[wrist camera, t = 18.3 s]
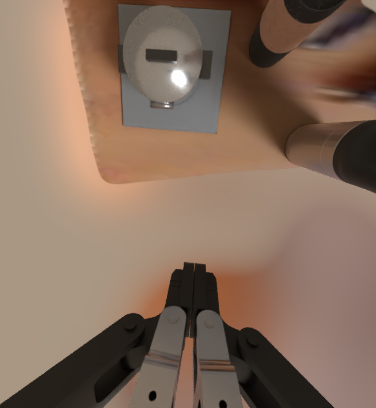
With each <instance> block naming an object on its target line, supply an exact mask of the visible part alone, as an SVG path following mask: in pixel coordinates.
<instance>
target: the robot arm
mask: <svg viewBox="0 0 376 408" xmlns="http://www.w3.org/2000/svg"><path fill="white" fill-rule="evenodd" d="M285 153H286V156H287V158H288V160H289V161H290V162H292V163H293V164H295V165H298V166H301V167H303V168H306V169H309V170H312V171H315V172H318V173H321V174H323V175H326V176H329V177H332V178H334V179H337V180H340V181H343V182H346V183H349V184H352V185H355V186H358V187H361V188H364V189H366V190H369V191H371V192H374V193H376V120H368V121H354V122H339V123H323V124H308V125H304V126H301V127H299V128H297V129H296V130H295V131H294V132H292V134H291V135H290V136H289V138H288V140H287V142H286V146H285ZM190 320H191V323H190ZM190 325H191V326H190ZM189 327H190V328H189ZM189 329H190V338H193V351H192V368H193V408H243V404H242V399H241V395H242V397H243V398H244V400H245V401H246V403H247V404H248V405H249V407H250V408H334V407H333V406H332V405H331V404H330V403H329V402H328V401H327V400H326V399H325V398H324V397H323V396H322V395H321V394H320V393H319V392H318V391H317V390H316V389H315V388H314V387H313V386H312V385H311V384H310V383H309V382H308V381H307V380H306V379H305V378H304V377H303V376H302V375H301V374H300V373H299V372H298V371H297V370H296V369H295V368H294V367H293V365H291V363H289V361H287V359H285V357H284V356H283V355H282V354H281V353H280V352H279V351H278V350H277V349H276V348H275V347H274V346H273V345H272V344H271V343H270V342H269V341H268V340H267V339H266V338H265V337H264V336H263V335H262V334H261V333H260V332H259V331H257V330H255V329H253V328H249V327H247V328H243V329H241V330H240V331H239V330H237V329H235V328H232V327H230V326H229V325H227V324H226V323H225V322H224V321H223V320H222V318H221V316H220V312H219V303H218V293H217V282H216V278H215V276H214V274H213V273H209V272H206V265H205V264H197V263H195V270H194V263H188V262H184V268H183V270H181V269H176V270H175V271H174V272H173V273H172V276H171V280H170V285H169V290H168V295H167V299H166V304H165V308H164V310H163V311H162V312H161V313H160V314H159V315H157V316H155V317H152V318H148V319H144V318H143V317H142V316H141V315H139V314H136V313H131V314H127V315H125V316H124V317H122V318H121V319H119V320H118V321H117V322H115V323H114V324H112V325H111V326H109V327H108V328H107V329H105V330H104V331H102V332H101V333H100V334H98V335H97V336H96V337H94V338H93V339H91V340H90V341H89V342H87V343H86V344H84V345H83V346H82V347H80V348H79V349H77V350H76V351H74V352H73V353H72V354H70V355H69V356H67V357H66V358H65V359H63V360H62V361H60V362H59V363H58V364H56V365H55V366H53V367H52V368H51V369H49V370H48V371H46V372H45V373H44V374H42V375H41V376H39V377H38V378H37V379H35V380H34V381H33V382H31V383H30V384H28V385H27V386H25V387H24V388H23V389H21V390H20V391H18V392H17V393H16V394H14V395H13V396H11V397H10V398H9V399H7V400H6V401H4V402H3V403H2V404H0V408H103V407H104V406H105V405H106V404H107V403H108V402H109V401H110V400H111V399H112V398H113V397H114V396H115V395H116V394H117V393H118V392H119V391H120V390H121V389H122V388H123V387H124V386H125V385H126V384H127V383H128V382H129V381H130V380H131V379H132V378H133V377H134V376H135V375H136V374H137V373H138V372H139V371H140V373H139V376H138V380H137V382H136V386H135V389H134V392H133V395H132V398H131V401H130V404H129V408H174V406H175V399H176V392H177V386H178V379H179V373H180V366H181V360H182V354H183V350H184V346H185V337H189ZM240 394H241V395H240Z"/></svg>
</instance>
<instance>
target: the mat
mask: <svg viewBox="0 0 376 408" xmlns="http://www.w3.org/2000/svg"><path fill="white" fill-rule="evenodd" d="M150 7H153V6H144V5H127V4H118V16H119V38H120V45H123V44H124V39H125V35H126V33H127V30H128V28H129V26H130V24H131V23H132V21H133V20H134V19H135V18H136V17H137V16H138V15H139V14H140V13H141V12H142V11H144V10H146V9H148V8H150ZM173 8H176V9H178V10H180V11H181V12H183V13H184V14H185V15H186V16H187V17H188V18H189V19H190V20H191V21H192V23H193V24H194V26H195V27H196V29H197V31H198V34H199V36H200V40H201V44H202V50H208V51H213V56H212V66H211V76H210V80H202V79H199V82H198V86H197V89H196V91H195V92H194V94H193V95H192V97H191V98H190V99H189V100H188V101H186V102H185V103H183V104H181V105H178V106H174V107H173V110H170V109H157V108H151V107H150V101H151V100H149V99H147V98H146V97H144V96H143V95H142V94H140V93H139V92H138V91H137V90H136V89H135V88H134V86H133V85H132V83H131V82H130V80H129V78H128V76H127V74H121V82H122V104H123V126H128V127H141V128H153V129H165V130H177V131H189V132H201V133H213V134H216V131H217V123H218V115H219V107H220V99H221V91H222V82H223V74H224V66H225V58H226V50H227V42H228V34H229V26H230V18H231V11H230V10H212V9H195V8H178V7H173Z"/></svg>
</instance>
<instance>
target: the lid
mask: <svg viewBox="0 0 376 408" xmlns="http://www.w3.org/2000/svg"><path fill="white" fill-rule="evenodd" d="M202 58H203V53H202V44H201V40H200V36H199V34H198V31H197V29H196V27H195V26H194V24H193V23H192V21H191V20H190V19H189V18H188V17H187V16H186V15H185V14H184V13H183V12H181V11H180V10H178V9H176V8H173V7H170V6H165V5H159V6H153V7H150V8H148V9H146V10H144V11H142V12H141V13H140V14H139V15H138V16H137V17H136V18H135V19H134V20H133V21H132V23H131V24H130V26H129V28H128V30H127V33H126V35H125V39H124V44H123V62H124V67H125V70H126V73H127V76H128V78H129V80H130V82H131V83H132V85H133V86H134V88H135V89H136V90H137V91H138V92H139V93H140V94H142V95H143V96H144V97H146V98H147V99H149V100H151V101H150V107H151V108H157V109H170V110H173V102H175V101H178V100H180V99H181V98H183V97H185V96H186V95H187V94H188V93H189V92H190V91H191V90H192V88H193V87H194V86H195V84H196V82H197V80H198V78H199V75H200V72H201V68H202Z"/></svg>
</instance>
